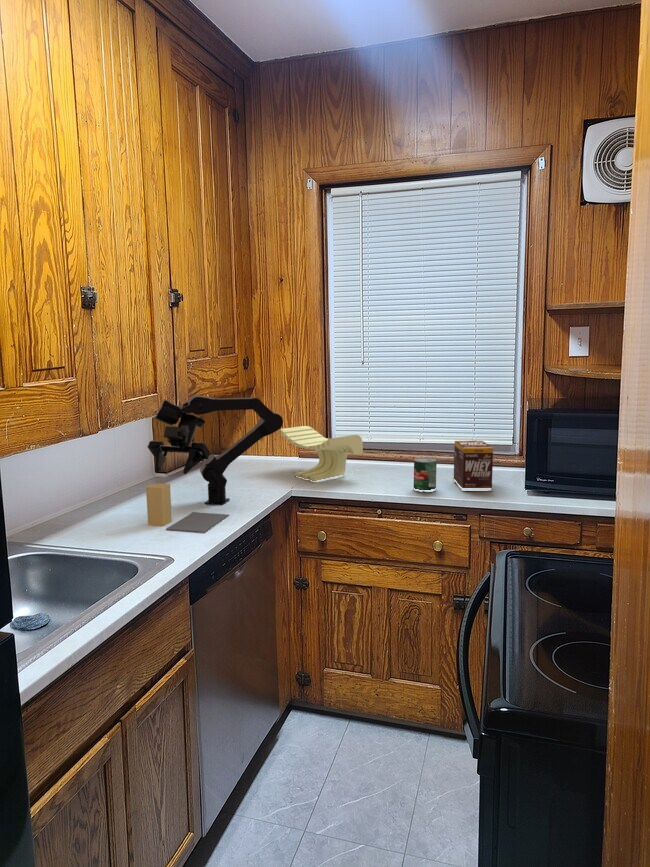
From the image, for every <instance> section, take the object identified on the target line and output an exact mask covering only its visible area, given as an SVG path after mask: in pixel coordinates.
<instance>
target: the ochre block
mask: <svg viewBox="0 0 650 867" xmlns="http://www.w3.org/2000/svg"><path fill="white" fill-rule="evenodd" d="M145 491H146V495H145V496H146V509H147V510H146V511H147V513H146V515H147V526H152V527H153V526H154V527H165V526H167V525H169V524H170V523H172V522H173V518H172V517H173V516H172V498H171V497H172V496H171V495H172V494H171V484H170V483H164V482H163V483H162V482H153V483H151V484H150V485H147V486H145Z"/></svg>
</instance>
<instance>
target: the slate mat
mask: <svg viewBox="0 0 650 867" xmlns="http://www.w3.org/2000/svg"><path fill="white" fill-rule="evenodd" d="M227 516H228V517H230V514H226V513H215V512H214V513H212V512H211V513H210V512H199V511H198V512H196V511H193V512H191V513H189V514H188V515H186V516H185V517H183V518H181V519H180V520H178V521H176V522H175V523H172V524H171V525H169V526H168V527H166V528H165V530H166V531H173V532H175V531H176V532H177V531H178V532H184V533H185V532H190V533H197V534H200V533H203V534H206V533H207V532H209V531H210V530H211V529H212V527H213V528H214V527H215V525H216V524H217V525H219V524H220V523H221V522H222V520H223V519H224V520H225V519H227V518H228V517H227ZM226 517H227V518H226ZM224 520H223V521H224ZM219 522H220V523H219ZM217 525H216V526H217ZM208 530H209V531H208ZM199 532H200V533H199ZM205 532H206V533H205Z"/></svg>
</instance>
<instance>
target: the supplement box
mask: <svg viewBox="0 0 650 867" xmlns="http://www.w3.org/2000/svg"><path fill="white" fill-rule="evenodd" d="M453 450H454V454H453V455H454V456H453V480H454V479H455V480H456V481H457V483H458V484H459V485H460V486H461V487H462V488H492V489H493V487H492V486H493V465H494V464H493V463H494V462H493V461H494V460H493V459H494V447H492V446H491V445H489V443H486V442H485V441H484V440H455V441H454V449H453Z"/></svg>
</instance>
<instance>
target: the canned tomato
mask: <svg viewBox="0 0 650 867" xmlns="http://www.w3.org/2000/svg"><path fill="white" fill-rule="evenodd" d="M437 461H438V460H437V458H434V457H423V456H421V457H416V458H414V459H413V489H414V488H415V489H419V490H431V489H435V488H436V489H437V463H438V462H437Z"/></svg>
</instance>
